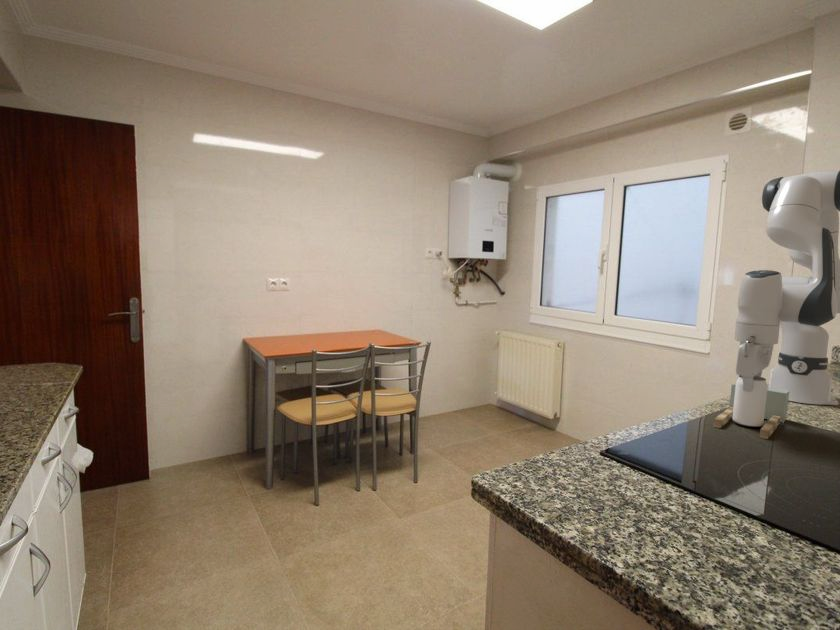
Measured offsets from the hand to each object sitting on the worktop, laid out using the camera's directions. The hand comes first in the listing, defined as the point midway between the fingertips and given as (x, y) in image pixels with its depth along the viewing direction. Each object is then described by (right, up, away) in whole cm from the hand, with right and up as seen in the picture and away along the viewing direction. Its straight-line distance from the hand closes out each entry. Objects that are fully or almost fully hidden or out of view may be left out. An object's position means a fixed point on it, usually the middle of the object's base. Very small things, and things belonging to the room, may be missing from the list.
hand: (751, 388), depth 113 cm
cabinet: (+9, -9, +9) cm, 16 cm away
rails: (0, -10, +1) cm, 10 cm away
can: (0, -9, +1) cm, 9 cm away
